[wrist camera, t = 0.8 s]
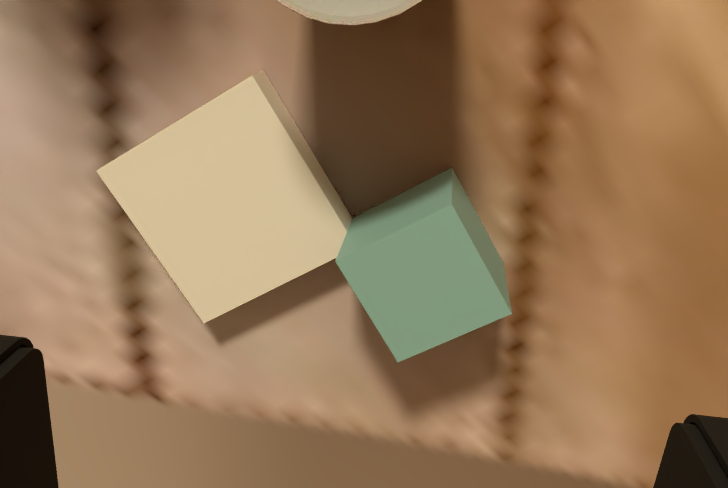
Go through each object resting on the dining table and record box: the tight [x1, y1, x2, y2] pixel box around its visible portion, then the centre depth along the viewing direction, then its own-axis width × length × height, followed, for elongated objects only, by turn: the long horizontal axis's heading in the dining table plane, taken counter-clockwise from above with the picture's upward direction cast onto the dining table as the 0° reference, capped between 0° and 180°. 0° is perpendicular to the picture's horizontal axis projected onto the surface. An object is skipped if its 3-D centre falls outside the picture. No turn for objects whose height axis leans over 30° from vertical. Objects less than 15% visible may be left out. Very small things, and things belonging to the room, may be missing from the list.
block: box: [335, 168, 512, 362], centre depth 34 cm, size 6×6×6 cm
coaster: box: [97, 70, 352, 323], centre depth 36 cm, size 10×10×2 cm
